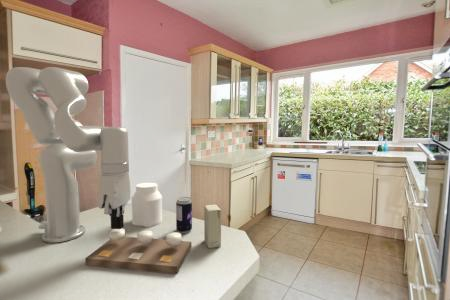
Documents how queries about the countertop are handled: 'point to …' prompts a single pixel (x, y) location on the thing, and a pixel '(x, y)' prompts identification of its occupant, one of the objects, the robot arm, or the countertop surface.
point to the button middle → (145, 236)
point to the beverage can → (184, 214)
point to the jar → (147, 205)
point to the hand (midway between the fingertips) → (117, 227)
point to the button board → (140, 255)
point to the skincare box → (212, 226)
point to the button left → (117, 234)
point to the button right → (173, 238)
